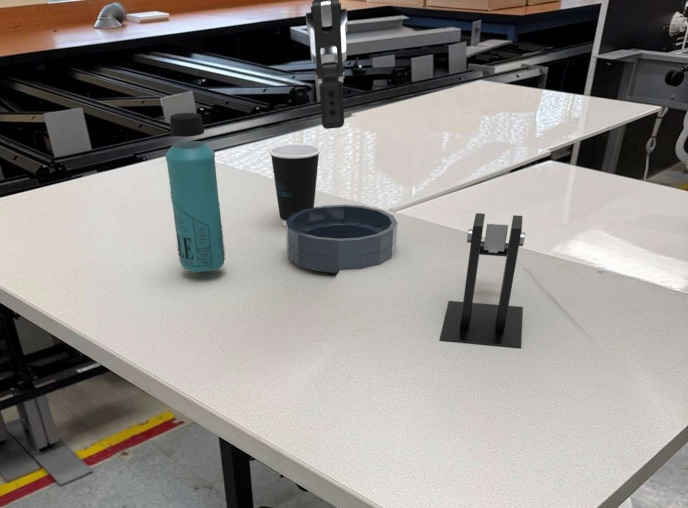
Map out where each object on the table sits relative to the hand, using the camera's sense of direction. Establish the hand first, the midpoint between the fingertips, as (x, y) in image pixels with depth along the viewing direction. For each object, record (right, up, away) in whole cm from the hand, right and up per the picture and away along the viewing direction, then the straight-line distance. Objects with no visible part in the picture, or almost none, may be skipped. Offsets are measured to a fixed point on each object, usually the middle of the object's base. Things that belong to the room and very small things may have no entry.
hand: (333, 122), depth 75 cm
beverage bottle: (-17, -8, +26) cm, 32 cm away
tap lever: (+19, -11, +8) cm, 23 cm away
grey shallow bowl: (+2, -3, +30) cm, 30 cm away
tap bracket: (+18, -19, +10) cm, 28 cm away
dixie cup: (-4, +6, +42) cm, 43 cm away
